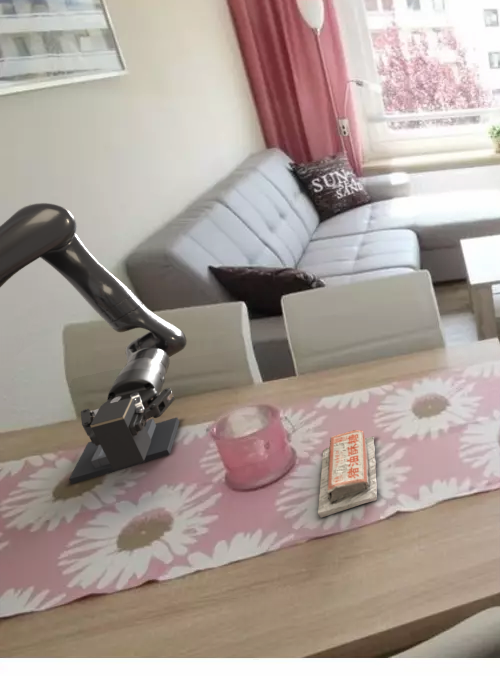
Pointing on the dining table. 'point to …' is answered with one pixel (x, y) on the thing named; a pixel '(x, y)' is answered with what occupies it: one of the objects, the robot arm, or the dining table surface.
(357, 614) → the dining table surface
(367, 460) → the packaged product
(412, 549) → the dining table surface
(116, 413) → the black box
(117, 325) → the robot arm
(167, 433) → the base pad
